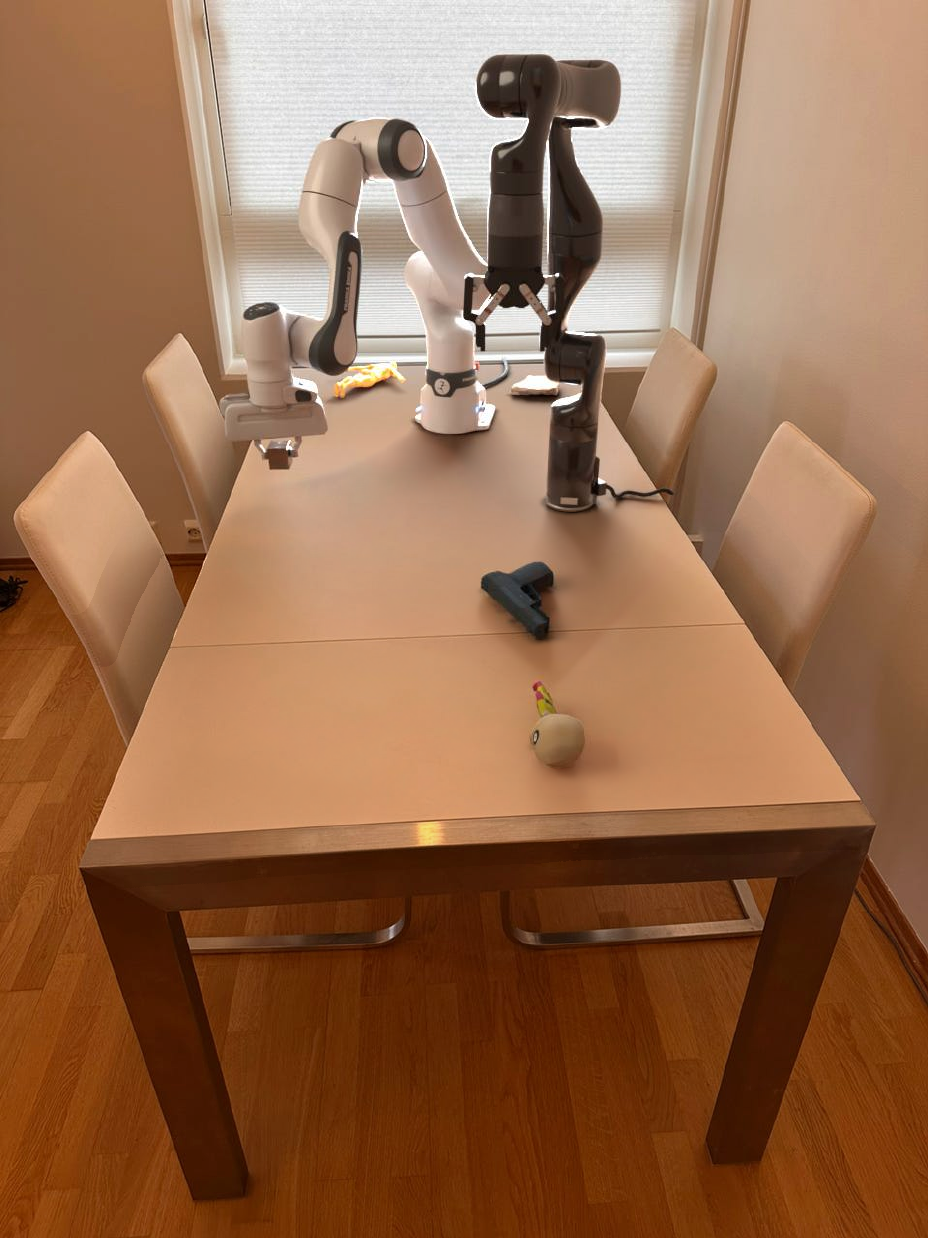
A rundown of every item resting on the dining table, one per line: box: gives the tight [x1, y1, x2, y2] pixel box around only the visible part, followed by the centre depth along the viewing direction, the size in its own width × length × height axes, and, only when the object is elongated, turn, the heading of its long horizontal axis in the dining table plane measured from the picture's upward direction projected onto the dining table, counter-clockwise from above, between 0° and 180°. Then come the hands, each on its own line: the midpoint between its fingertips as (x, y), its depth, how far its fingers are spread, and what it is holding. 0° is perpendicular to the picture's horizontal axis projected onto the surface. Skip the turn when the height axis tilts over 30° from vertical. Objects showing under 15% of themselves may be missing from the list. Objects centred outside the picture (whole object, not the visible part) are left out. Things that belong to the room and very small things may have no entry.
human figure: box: [333, 361, 408, 398], centre depth 242 cm, size 20×20×4 cm
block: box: [266, 440, 294, 471], centre depth 182 cm, size 4×4×5 cm
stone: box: [509, 375, 560, 396], centre depth 238 cm, size 13×12×2 cm
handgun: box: [480, 561, 555, 640], centre depth 143 cm, size 3×18×12 cm
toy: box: [529, 680, 586, 769], centre depth 115 cm, size 6×7×15 cm
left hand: (280, 457), depth 182 cm, fingers closed on block, 4 cm apart
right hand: (512, 350), depth 129 cm, fingers open, 8 cm apart
